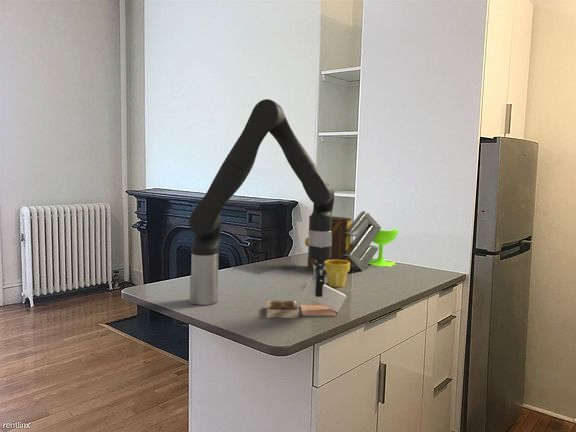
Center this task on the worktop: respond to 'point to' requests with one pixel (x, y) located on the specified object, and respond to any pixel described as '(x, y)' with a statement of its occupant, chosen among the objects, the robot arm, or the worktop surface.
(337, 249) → the wooden crate
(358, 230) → the emblem
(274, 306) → the walnut offcut left
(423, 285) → the worktop surface
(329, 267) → the plant pot
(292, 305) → the walnut offcut right
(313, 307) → the terracotta tile
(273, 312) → the birch rack
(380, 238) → the wineglass
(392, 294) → the worktop surface
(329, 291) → the light grey flat block
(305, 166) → the robot arm
